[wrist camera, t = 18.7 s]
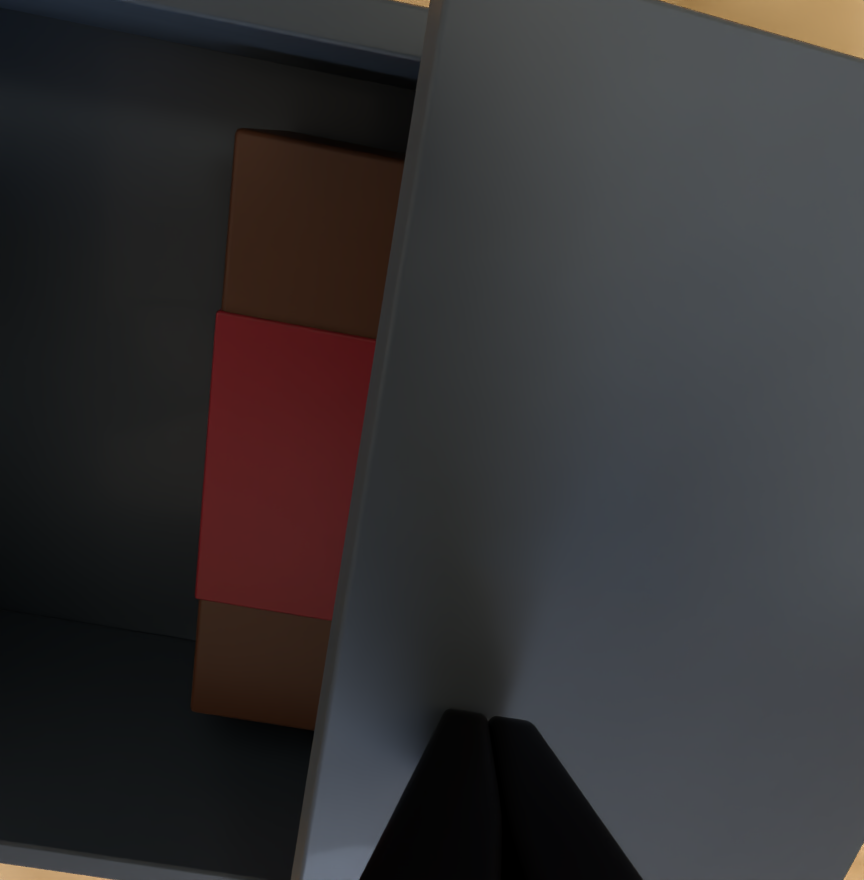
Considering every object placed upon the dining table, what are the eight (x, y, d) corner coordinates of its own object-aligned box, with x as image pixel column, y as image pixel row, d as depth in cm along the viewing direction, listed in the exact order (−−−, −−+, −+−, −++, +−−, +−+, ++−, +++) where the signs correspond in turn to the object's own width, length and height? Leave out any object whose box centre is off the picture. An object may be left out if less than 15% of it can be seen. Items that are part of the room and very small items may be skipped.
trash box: (-46, -33, 13) (-439, -172, 7) (865, 150, 13) (1165, 158, 8) (-15, 609, 17) (-234, 830, 12) (654, 717, 18) (745, 973, 13)
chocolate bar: (524, 176, 13) (547, 187, 10) (423, 640, 17) (418, 751, 14) (280, 129, 13) (228, 125, 10) (233, 609, 17) (184, 715, 14)
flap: (436, -50, 5) (455, -61, 5) (1188, 160, 7) (1238, 165, 7) (254, 1104, 10) (256, 1142, 9) (749, 997, 12) (766, 1025, 12)
